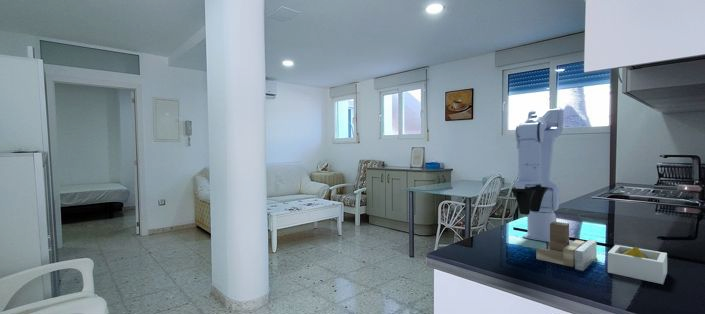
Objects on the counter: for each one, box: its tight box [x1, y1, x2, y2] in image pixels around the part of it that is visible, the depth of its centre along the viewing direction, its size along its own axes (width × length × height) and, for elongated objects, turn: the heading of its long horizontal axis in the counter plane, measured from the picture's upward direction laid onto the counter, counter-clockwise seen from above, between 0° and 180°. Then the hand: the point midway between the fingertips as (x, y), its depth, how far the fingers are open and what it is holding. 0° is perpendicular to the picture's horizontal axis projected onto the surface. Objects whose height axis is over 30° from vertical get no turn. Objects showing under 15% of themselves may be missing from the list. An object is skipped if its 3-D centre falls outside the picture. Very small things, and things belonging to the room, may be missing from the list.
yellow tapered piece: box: [620, 246, 649, 259], centre depth 71 cm, size 5×5×10 cm
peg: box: [550, 221, 570, 252], centre depth 82 cm, size 4×4×9 cm
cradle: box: [535, 239, 586, 268], centre depth 82 cm, size 11×8×4 cm
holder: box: [607, 244, 668, 285], centre depth 71 cm, size 9×9×4 cm
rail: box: [574, 239, 598, 272], centre depth 77 cm, size 13×2×4 cm, turn 131°
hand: (529, 212), depth 89 cm, fingers open, 7 cm apart
